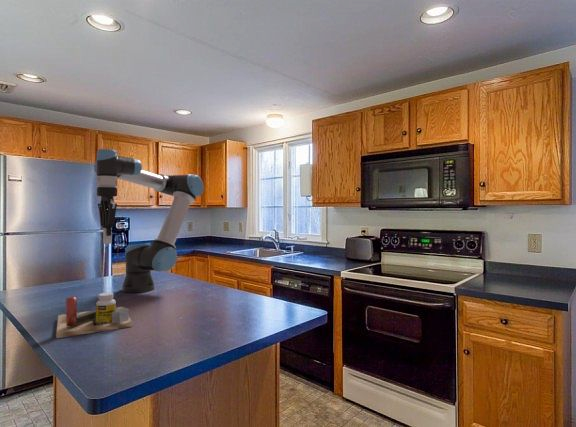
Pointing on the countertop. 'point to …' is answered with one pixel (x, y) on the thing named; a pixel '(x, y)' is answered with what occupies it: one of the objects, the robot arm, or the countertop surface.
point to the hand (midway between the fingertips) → (107, 243)
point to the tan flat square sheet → (85, 326)
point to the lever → (72, 313)
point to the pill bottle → (105, 308)
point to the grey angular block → (120, 316)
